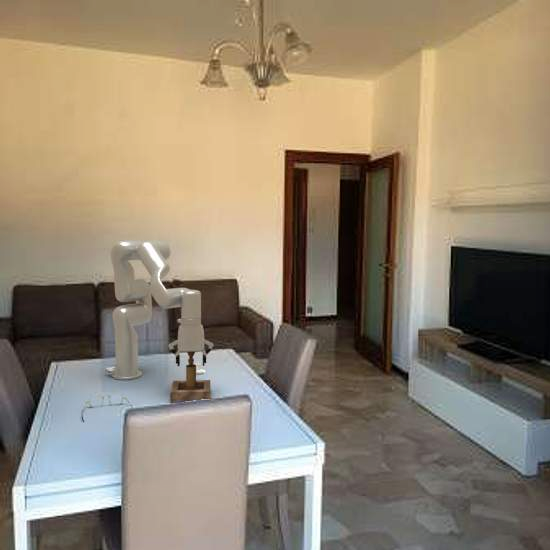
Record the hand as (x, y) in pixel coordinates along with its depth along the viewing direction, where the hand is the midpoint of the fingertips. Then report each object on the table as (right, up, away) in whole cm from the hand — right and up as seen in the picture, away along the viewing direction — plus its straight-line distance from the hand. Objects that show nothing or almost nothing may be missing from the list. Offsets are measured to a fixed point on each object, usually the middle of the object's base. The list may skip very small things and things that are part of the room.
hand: (191, 365), depth 202 cm
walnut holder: (0, -12, +1) cm, 12 cm away
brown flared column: (0, -11, +1) cm, 12 cm away
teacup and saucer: (-5, -10, +33) cm, 35 cm away
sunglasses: (-27, -14, -18) cm, 35 cm away
